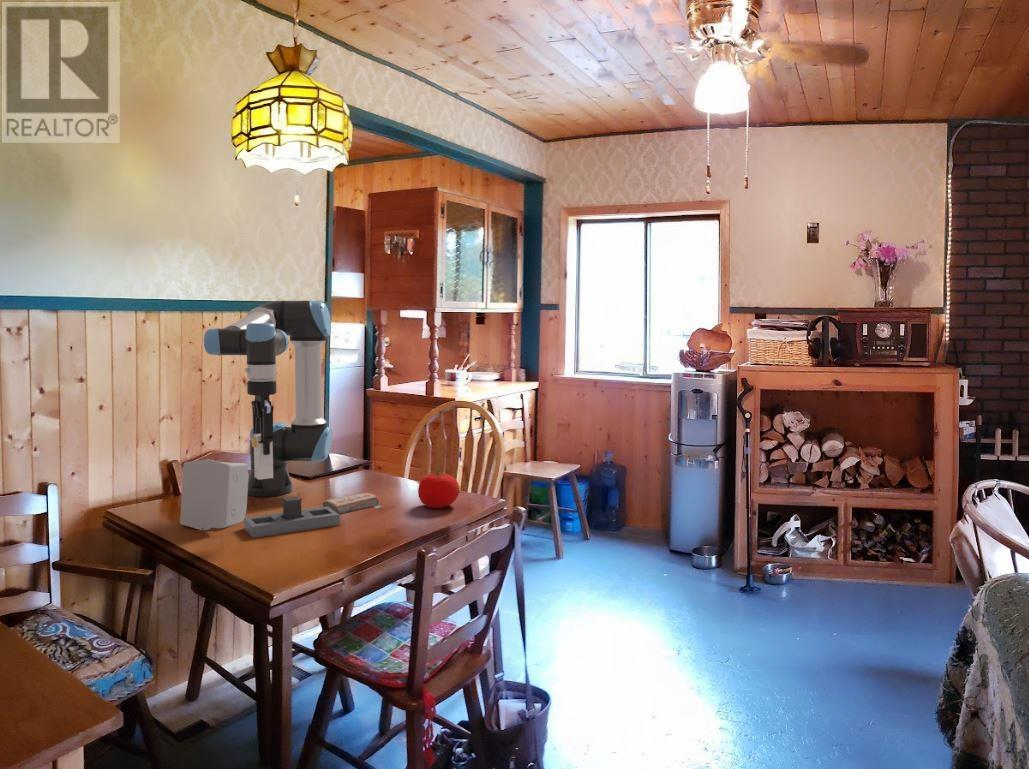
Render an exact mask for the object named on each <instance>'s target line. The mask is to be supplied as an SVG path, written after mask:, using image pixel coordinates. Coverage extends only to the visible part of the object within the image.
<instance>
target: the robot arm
mask: <svg viewBox="0 0 1029 769" xmlns="http://www.w3.org/2000/svg"><path fill="white" fill-rule="evenodd" d="M331 333H332V321H331V315H330V311H329V309H328V307H327V305H326V303H324V302H323V301H317V300H274V301H270V302H267V303H264V304H261V305H258V306H256V307H254V308H253V309H250V311H249V312H248V313H247V314H246V316H245V317H242V318H241V319H239V320H237V321H235V322H233V323H232V324H230V325H228V326H226V327H224V328H219V327H218V328H217V327H216V328H208V329H206V331H205V333H204V336H203V348H204V351H205V352H206V353H207V354H208V355H211V356H246V368H244V371H245V373H246V372H247V373H246V374H247V375H246V377H247V380H248V381H247V385H246V386H247V387H246V391H247V392H246V393H247V394H248V396H249V395H250V396H254V400H251V402H250V403H251V404H250V405H251V409H252V428H251V429H250V432H249V434H250V435H249V450H250V451H249V454H250V455H249V457H250V472H249V473H248V491H247V496H252V497H274V496H275V497H276V496H281V495H285V494H289V493H291V492H292V491H293V482H292V480H291V477H290V473H289V470H288V467H287V466H288V464H287V462H311V463H315V462H324V461H325V460H326V459H327V458H328V457H329V455H330V451H331V447H332V441H333V429H332V427H329V426H327V421H326V419H325V418H324V417H323V396H322V395H323V394H322V393H323V392H322V391H323V390H322V382H323V381H322V378H323V377H322V346H323V345H324V344H325V343H326V340H327V338H328V337H329V336H330V335H331ZM326 337H327V338H326ZM289 343H291V344H292V345H293V346H294V380H295V381H294V384H295V385H294V390H295V418H293V420H292V421H291V422H290V426H287V424H286V422H283V421H282V422H281V421H278V422H274V408H275V407H274V405H272V400H271V399H270V396H271V395H275V394H277V381H276V380H275V379H276V378H277V363H276V362H277V357H276V356H280V355H281V354H284V353H285V352H286V351H287V350H288V347H289ZM270 400H271V401H270ZM258 433H261V441H258V442H259V443H260V466H261V467H265V466H271V441H273V478H269V479H260V480H258V479H257V478H256V477H255V472H254V447H252V441H251V437H254V434H258Z"/></svg>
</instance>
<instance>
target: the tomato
mask: <svg viewBox="0 0 1029 769" xmlns="http://www.w3.org/2000/svg"><path fill="white" fill-rule="evenodd" d="M417 489H418V490H417V493H418V499H419V500H420V502H421V503H422V504H423V505H424V506H426V507H428V508H431V509H442V508H445V507H448V506H451V505H452V504H453V503H454V502H455V501H456V500H457V499H458V496H459V494H460V484H459V482H458V480H457V479H456V477H453V476H452V475H450V474H446V473H443V472H434V473H432V472H430V473H429V474H426V475H425V476H423V477H422V478H421V480H420V482H419V484H418V488H417Z"/></svg>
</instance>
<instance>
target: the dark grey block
mask: <svg viewBox="0 0 1029 769" xmlns="http://www.w3.org/2000/svg"><path fill="white" fill-rule="evenodd" d="M301 510H302V499H301V498H300V497H299V496H291V497H288V496H287V497H283V498H282V513H283V518H284V519H285V520H288V519H295V518H301Z"/></svg>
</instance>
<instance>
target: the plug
mask: <svg viewBox="0 0 1029 769" xmlns="http://www.w3.org/2000/svg"><path fill="white" fill-rule="evenodd" d="M251 441H252V447H254V472H255V477H256V478H257V479H258V480H260V479H269V478H273V441H271V466H265V467H261V466H260V443H259V442H258V441H261V433H258V434H254V437H251Z"/></svg>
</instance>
